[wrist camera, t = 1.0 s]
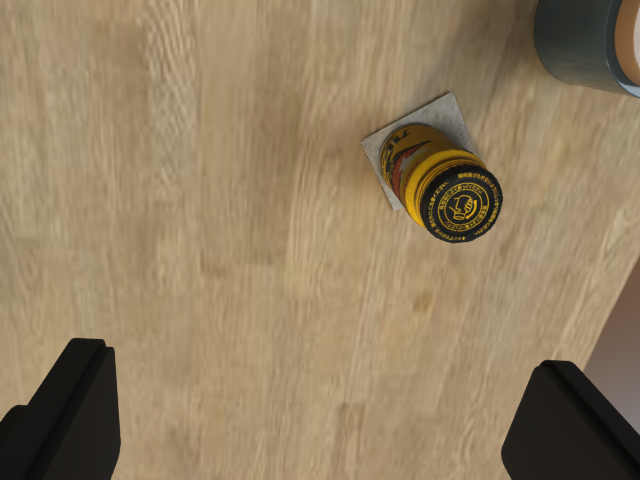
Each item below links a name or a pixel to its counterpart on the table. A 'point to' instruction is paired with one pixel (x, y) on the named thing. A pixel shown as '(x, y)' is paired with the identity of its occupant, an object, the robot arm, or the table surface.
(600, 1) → the blue jar
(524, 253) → the table surface
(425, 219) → the yellow coffee bottle
